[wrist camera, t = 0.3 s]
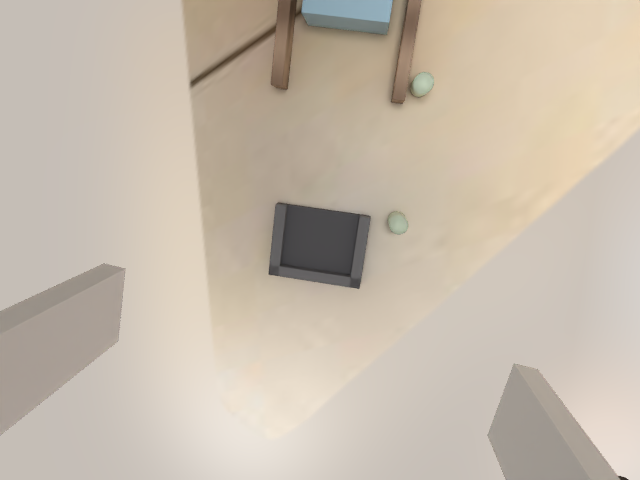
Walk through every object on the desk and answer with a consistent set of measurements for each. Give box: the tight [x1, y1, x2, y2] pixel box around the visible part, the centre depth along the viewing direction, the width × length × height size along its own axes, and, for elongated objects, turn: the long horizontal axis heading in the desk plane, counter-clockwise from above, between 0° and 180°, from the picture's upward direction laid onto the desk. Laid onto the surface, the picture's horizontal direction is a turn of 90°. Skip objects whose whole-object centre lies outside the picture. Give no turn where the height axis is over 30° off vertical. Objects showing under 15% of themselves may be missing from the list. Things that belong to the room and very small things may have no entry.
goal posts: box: [388, 72, 434, 235], centre depth 37 cm, size 14×2×3 cm, turn 173°
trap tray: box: [269, 203, 370, 289], centre depth 41 cm, size 7×9×1 cm
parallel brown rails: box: [271, 0, 422, 103], centre depth 35 cm, size 13×12×2 cm
